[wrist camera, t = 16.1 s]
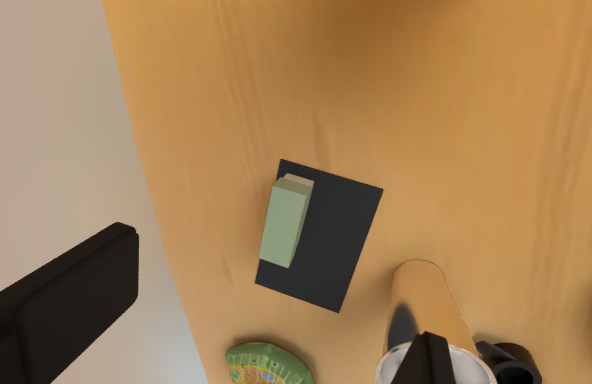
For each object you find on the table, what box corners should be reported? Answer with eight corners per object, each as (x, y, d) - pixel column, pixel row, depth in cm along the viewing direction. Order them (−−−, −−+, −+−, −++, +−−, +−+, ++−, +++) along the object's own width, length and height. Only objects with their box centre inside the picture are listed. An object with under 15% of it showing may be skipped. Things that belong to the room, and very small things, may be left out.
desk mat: (281, 158, 41) (280, 159, 41) (383, 189, 39) (383, 190, 39) (255, 282, 50) (255, 283, 49) (339, 312, 48) (338, 313, 47)
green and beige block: (286, 170, 41) (272, 185, 36) (316, 179, 41) (306, 196, 36) (271, 236, 46) (257, 257, 41) (299, 245, 45) (288, 268, 40)
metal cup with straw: (352, 274, 45) (297, 598, 18) (421, 228, 40) (488, 577, 13) (405, 327, 46) (430, 711, 19) (479, 288, 41) (653, 731, 14)
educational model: (255, 312, 52) (242, 339, 47) (336, 372, 52) (331, 405, 47) (219, 352, 57) (204, 380, 53) (293, 406, 58) (284, 439, 53)
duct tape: (535, 327, 41) (545, 345, 38) (546, 386, 44) (556, 407, 41) (467, 332, 44) (472, 350, 41) (482, 388, 46) (487, 408, 44)
